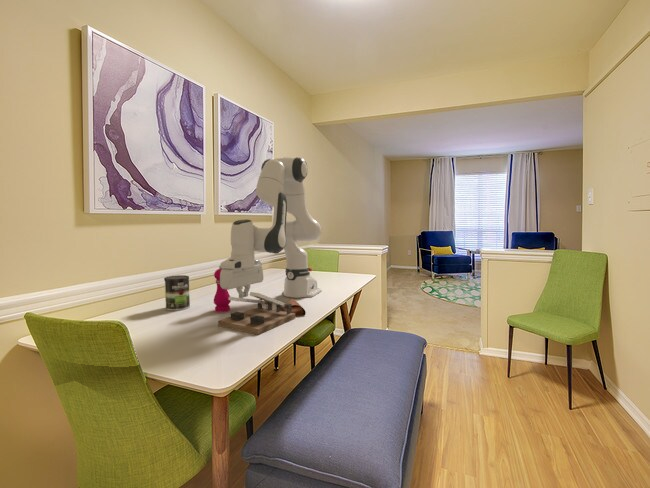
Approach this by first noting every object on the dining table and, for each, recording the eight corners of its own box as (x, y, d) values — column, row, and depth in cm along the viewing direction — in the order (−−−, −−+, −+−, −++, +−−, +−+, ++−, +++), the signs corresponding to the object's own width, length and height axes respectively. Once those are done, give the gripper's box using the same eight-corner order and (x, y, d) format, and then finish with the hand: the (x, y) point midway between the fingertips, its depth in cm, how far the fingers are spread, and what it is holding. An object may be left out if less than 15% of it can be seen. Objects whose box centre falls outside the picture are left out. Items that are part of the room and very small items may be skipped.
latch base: (257, 311, 148) (257, 298, 148) (295, 318, 138) (295, 304, 137) (218, 325, 129) (217, 310, 129) (258, 334, 119) (258, 318, 119)
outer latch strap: (279, 305, 140) (280, 303, 140) (287, 307, 138) (288, 304, 138) (249, 295, 125) (250, 292, 125) (257, 296, 123) (258, 293, 123)
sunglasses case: (276, 306, 156) (283, 293, 156) (289, 312, 158) (296, 300, 159) (286, 317, 139) (294, 303, 140) (300, 324, 141) (308, 310, 142)
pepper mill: (226, 312, 146) (224, 266, 145) (210, 312, 148) (209, 266, 146) (234, 308, 153) (232, 264, 152) (219, 307, 155) (217, 263, 153)
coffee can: (193, 307, 155) (192, 277, 154) (169, 312, 148) (168, 280, 147) (185, 303, 163) (184, 274, 161) (162, 307, 156) (161, 277, 155)
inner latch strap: (260, 302, 145) (261, 300, 145) (268, 304, 143) (268, 301, 143) (228, 299, 129) (228, 296, 129) (236, 301, 127) (236, 297, 127)
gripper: (255, 258, 143) (255, 291, 144) (216, 264, 125) (217, 301, 126) (266, 259, 140) (267, 293, 140) (229, 265, 122) (229, 303, 123)
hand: (243, 297), depth 133 cm, fingers closed
